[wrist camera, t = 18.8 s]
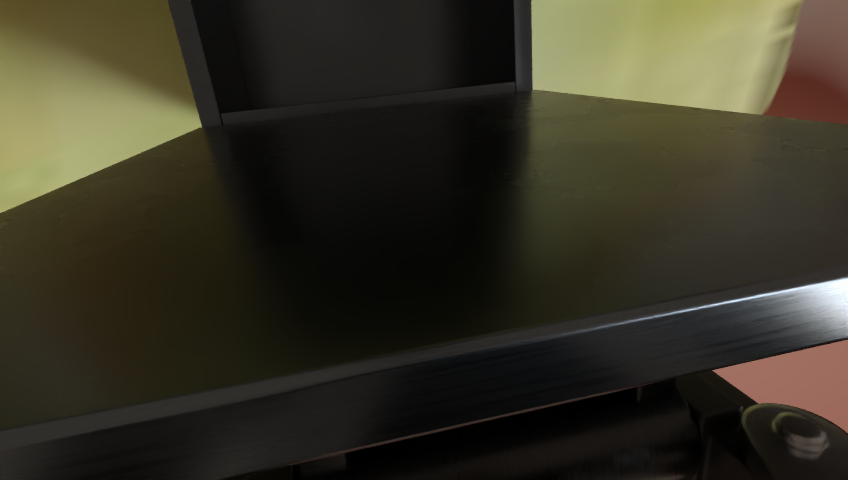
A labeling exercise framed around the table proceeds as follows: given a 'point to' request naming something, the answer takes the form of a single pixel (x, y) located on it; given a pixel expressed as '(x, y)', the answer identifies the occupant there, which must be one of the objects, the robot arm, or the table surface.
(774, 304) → the lid
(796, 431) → the robot arm
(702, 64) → the table surface
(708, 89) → the table surface
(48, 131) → the table surface
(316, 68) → the warmer
